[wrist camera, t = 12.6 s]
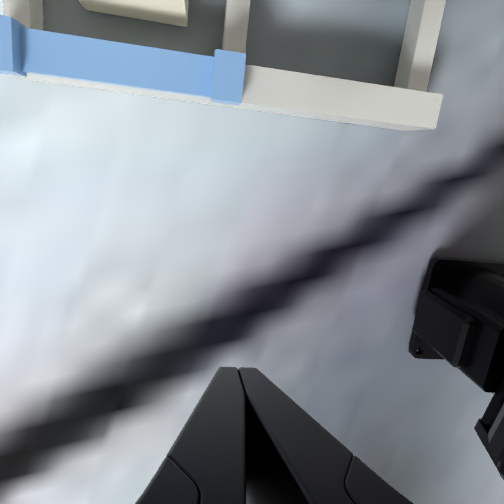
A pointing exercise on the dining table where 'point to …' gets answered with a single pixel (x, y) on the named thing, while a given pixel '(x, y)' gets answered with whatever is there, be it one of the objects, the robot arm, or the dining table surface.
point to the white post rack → (227, 70)
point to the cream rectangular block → (143, 9)
